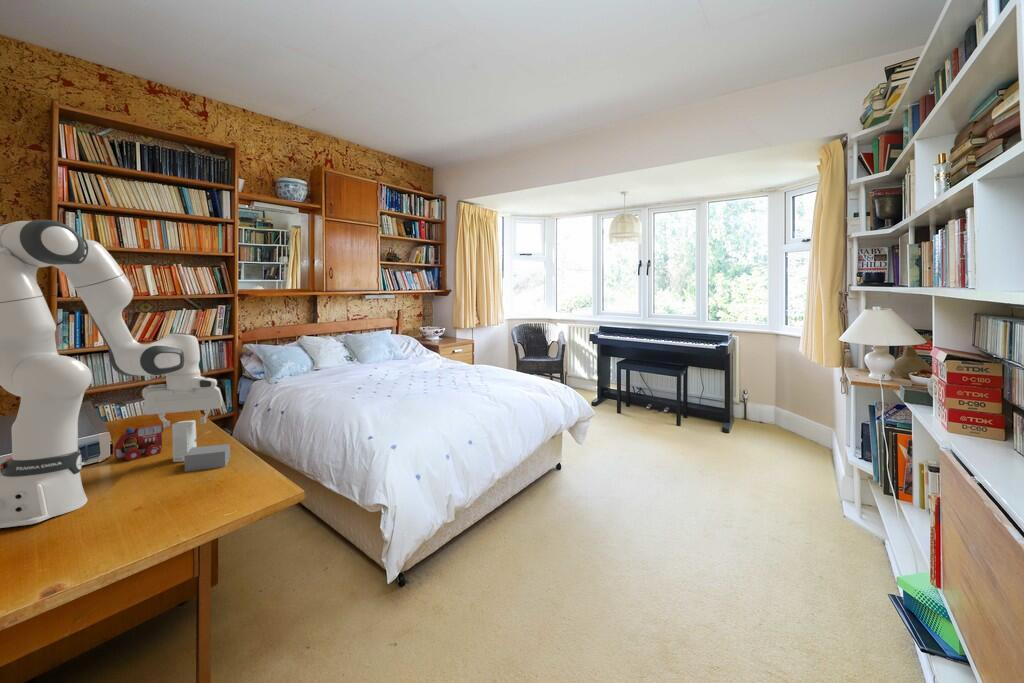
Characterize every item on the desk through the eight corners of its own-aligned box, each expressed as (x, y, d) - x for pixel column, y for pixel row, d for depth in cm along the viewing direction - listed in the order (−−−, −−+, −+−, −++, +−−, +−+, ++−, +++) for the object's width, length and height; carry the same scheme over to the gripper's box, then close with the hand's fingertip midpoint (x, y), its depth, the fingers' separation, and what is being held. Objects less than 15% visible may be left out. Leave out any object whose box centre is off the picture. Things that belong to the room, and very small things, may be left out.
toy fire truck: (111, 460, 136) (110, 428, 136) (159, 451, 146) (158, 421, 146) (117, 464, 132) (117, 431, 132) (166, 455, 142) (166, 424, 142)
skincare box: (188, 461, 135) (187, 423, 135) (171, 462, 134) (171, 424, 134) (197, 455, 141) (197, 419, 141) (182, 456, 140) (181, 420, 140)
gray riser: (184, 472, 125) (184, 455, 125) (192, 463, 134) (192, 447, 134) (225, 467, 129) (225, 451, 129) (230, 459, 138) (229, 443, 138)
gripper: (139, 386, 129) (141, 431, 129) (220, 381, 139) (222, 422, 140) (144, 384, 134) (145, 427, 135) (222, 379, 145) (223, 419, 145)
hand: (185, 425), depth 137 cm, fingers open, 8 cm apart
